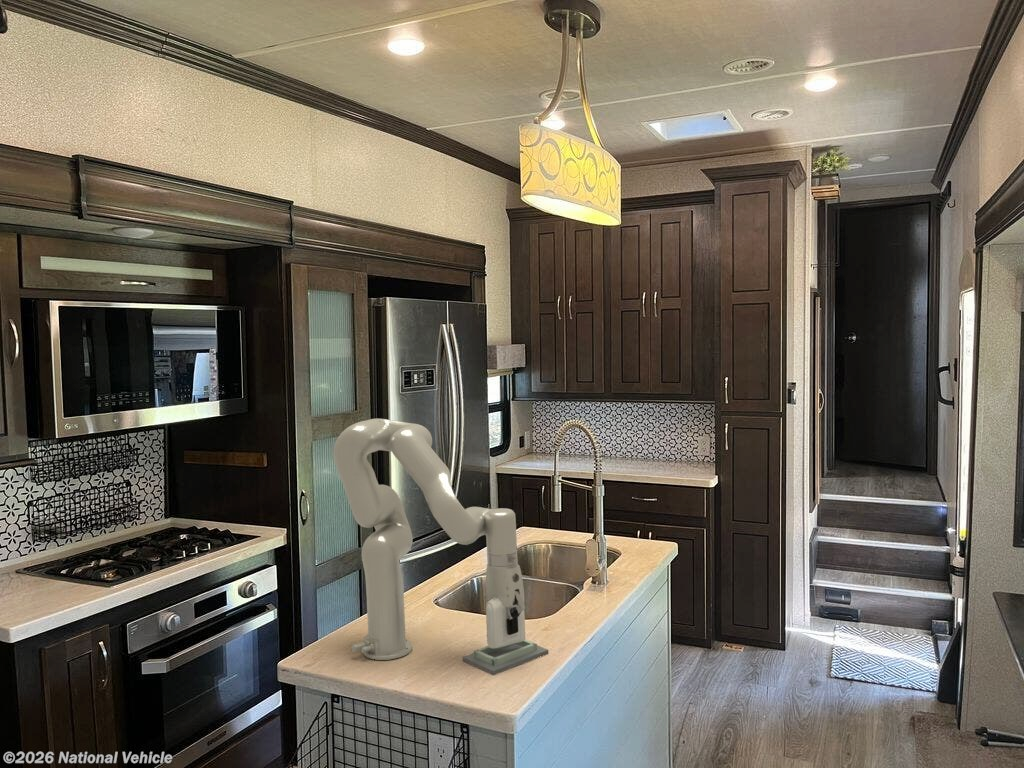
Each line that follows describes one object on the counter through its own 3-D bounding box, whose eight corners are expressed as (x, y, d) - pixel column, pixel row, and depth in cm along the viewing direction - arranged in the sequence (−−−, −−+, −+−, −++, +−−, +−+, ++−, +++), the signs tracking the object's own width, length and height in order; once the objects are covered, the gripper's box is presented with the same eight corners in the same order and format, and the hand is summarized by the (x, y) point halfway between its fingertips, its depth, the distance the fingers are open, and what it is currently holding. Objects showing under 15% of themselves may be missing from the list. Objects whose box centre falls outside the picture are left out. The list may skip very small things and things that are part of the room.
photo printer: (518, 635, 201) (516, 588, 200) (528, 640, 197) (526, 592, 197) (484, 646, 195) (482, 597, 194) (494, 651, 191) (491, 601, 191)
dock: (493, 675, 186) (492, 664, 186) (462, 660, 195) (462, 650, 195) (548, 653, 198) (548, 643, 197) (517, 641, 207) (516, 631, 207)
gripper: (536, 561, 191) (539, 635, 192) (492, 550, 204) (495, 618, 205) (513, 568, 186) (516, 643, 187) (469, 556, 199) (473, 626, 200)
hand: (505, 630), depth 196 cm, fingers closed on photo printer, 4 cm apart
